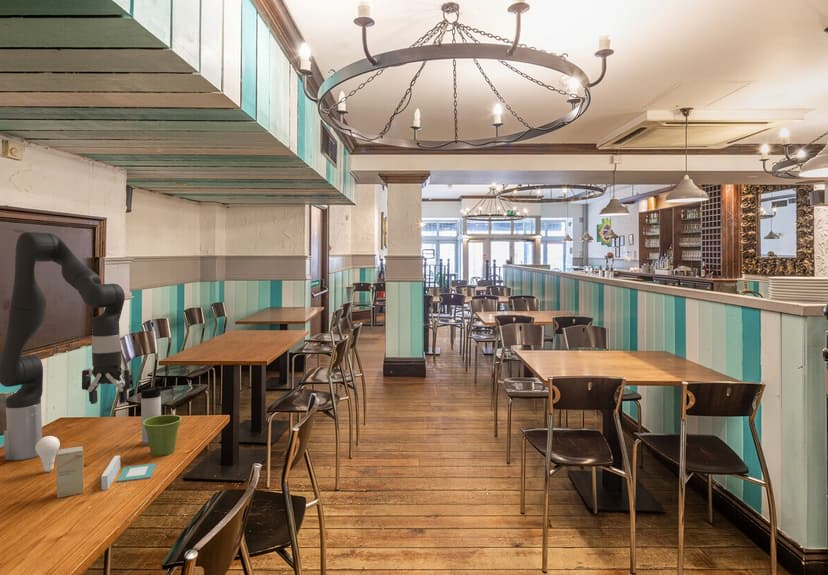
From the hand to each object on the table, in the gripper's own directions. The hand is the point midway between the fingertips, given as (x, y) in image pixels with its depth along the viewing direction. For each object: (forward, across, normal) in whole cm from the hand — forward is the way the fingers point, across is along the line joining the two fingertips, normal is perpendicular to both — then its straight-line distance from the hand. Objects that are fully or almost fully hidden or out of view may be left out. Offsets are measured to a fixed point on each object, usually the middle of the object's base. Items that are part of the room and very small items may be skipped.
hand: (108, 403), depth 154 cm
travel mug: (+22, -1, +27) cm, 34 cm away
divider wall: (+22, +2, -4) cm, 22 cm away
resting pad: (+22, +8, 0) cm, 23 cm away
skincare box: (+22, -3, -13) cm, 26 cm away
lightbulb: (+22, -20, +1) cm, 29 cm away
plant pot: (+22, +8, +17) cm, 29 cm away
